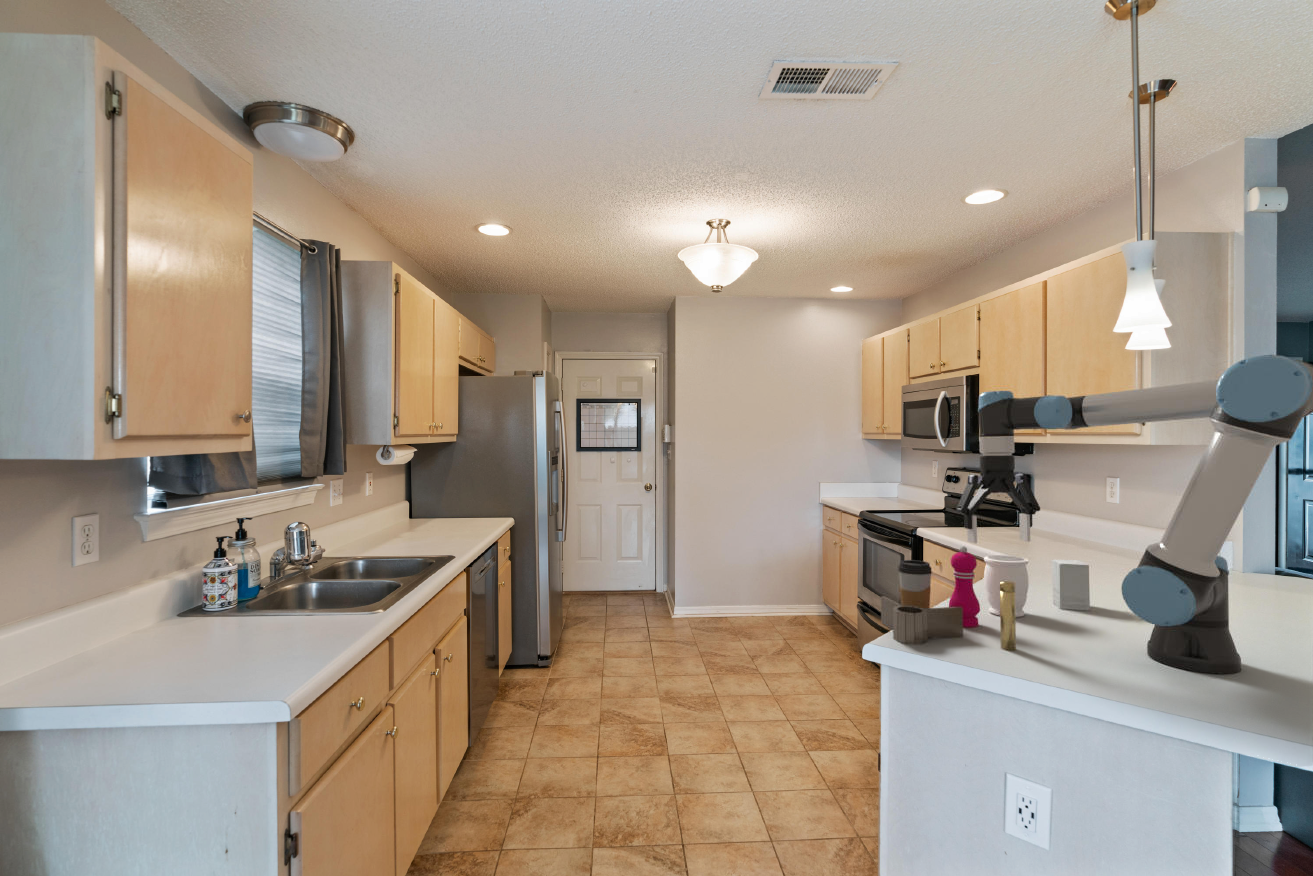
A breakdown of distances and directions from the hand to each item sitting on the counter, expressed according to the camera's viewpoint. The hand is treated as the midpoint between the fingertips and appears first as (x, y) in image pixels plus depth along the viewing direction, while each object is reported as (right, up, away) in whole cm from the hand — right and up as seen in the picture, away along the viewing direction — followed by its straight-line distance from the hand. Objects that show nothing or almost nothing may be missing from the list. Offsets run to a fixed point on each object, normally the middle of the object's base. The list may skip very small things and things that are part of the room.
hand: (998, 541), depth 154 cm
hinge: (-19, -23, +2) cm, 30 cm away
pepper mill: (-4, -23, +8) cm, 24 cm away
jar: (+12, -23, +17) cm, 31 cm away
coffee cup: (-15, -23, +13) cm, 30 cm away
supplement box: (+33, -22, +23) cm, 46 cm away
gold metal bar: (-4, -22, -11) cm, 25 cm away
